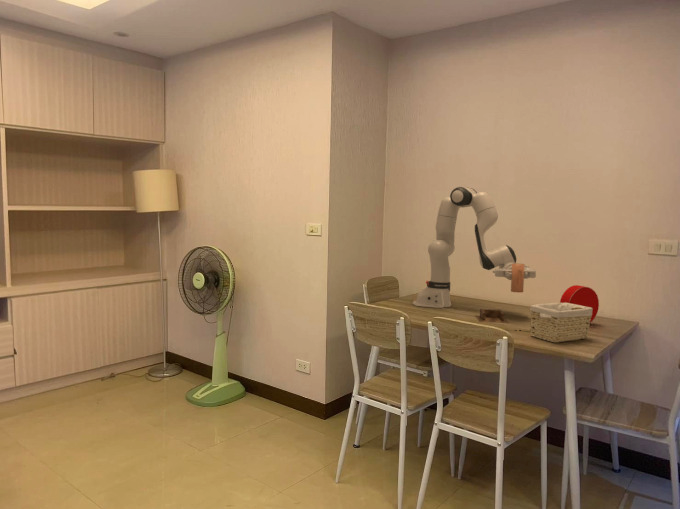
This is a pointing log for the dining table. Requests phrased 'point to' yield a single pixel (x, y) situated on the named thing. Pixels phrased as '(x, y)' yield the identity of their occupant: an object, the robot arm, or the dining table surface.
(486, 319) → the walnut stand
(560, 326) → the storage basket
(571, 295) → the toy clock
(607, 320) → the dining table surface
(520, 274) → the orange rectangular block
